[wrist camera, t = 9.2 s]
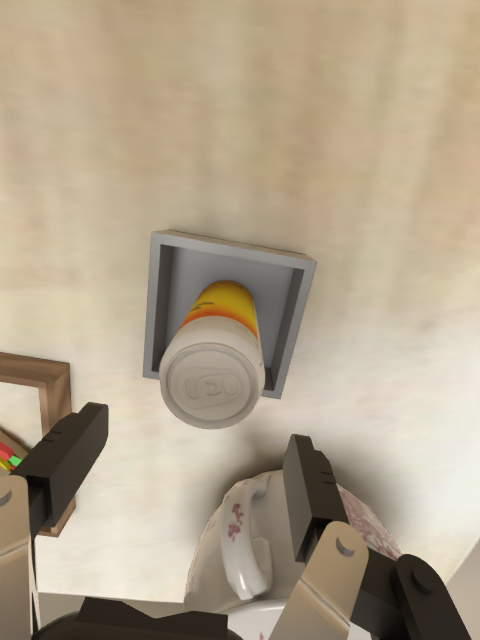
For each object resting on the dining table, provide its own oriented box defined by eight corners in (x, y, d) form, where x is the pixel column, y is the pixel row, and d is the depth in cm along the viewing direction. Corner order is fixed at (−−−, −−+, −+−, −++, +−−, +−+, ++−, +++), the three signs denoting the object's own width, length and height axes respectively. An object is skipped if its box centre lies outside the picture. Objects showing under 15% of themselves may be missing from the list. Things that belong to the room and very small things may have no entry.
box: (168, 229, 27) (151, 231, 22) (304, 254, 28) (316, 261, 23) (158, 353, 32) (142, 377, 27) (275, 372, 32) (280, 399, 27)
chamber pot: (338, 584, 45) (407, 861, 26) (172, 548, 43) (111, 819, 24) (424, 456, 36) (635, 738, 16) (218, 403, 34) (179, 654, 14)
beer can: (192, 282, 28) (141, 342, 14) (252, 276, 28) (262, 331, 14) (201, 337, 30) (164, 439, 16) (257, 332, 30) (270, 431, 16)
